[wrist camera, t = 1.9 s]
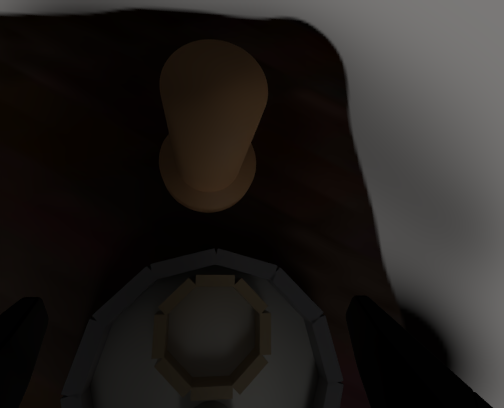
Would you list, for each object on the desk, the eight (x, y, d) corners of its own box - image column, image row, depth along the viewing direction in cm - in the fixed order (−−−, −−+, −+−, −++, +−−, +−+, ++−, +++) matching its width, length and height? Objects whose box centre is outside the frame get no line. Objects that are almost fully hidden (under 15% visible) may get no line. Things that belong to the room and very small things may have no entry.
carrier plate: (203, 581, 19) (204, 647, 16) (24, 381, 19) (-12, 404, 16) (367, 367, 23) (395, 383, 20) (215, 207, 23) (218, 197, 20)
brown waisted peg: (204, 236, 23) (211, 198, 11) (148, 176, 23) (93, 74, 11) (262, 182, 24) (324, 97, 12) (209, 127, 25) (218, -10, 13)
